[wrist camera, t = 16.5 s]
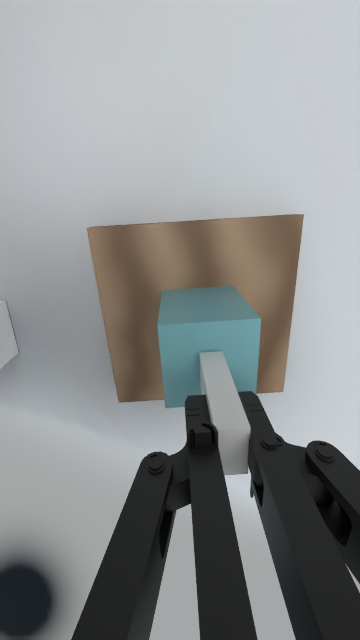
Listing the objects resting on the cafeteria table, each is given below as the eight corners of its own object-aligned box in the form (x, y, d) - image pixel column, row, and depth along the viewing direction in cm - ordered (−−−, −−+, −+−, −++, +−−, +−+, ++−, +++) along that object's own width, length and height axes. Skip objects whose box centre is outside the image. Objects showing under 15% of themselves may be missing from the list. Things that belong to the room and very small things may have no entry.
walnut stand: (122, 390, 30) (105, 448, 22) (93, 226, 23) (56, 232, 16) (276, 380, 30) (310, 435, 23) (293, 214, 23) (349, 214, 16)
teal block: (167, 352, 26) (165, 407, 18) (161, 290, 23) (157, 325, 16) (231, 348, 26) (255, 401, 19) (232, 285, 23) (261, 318, 16)
